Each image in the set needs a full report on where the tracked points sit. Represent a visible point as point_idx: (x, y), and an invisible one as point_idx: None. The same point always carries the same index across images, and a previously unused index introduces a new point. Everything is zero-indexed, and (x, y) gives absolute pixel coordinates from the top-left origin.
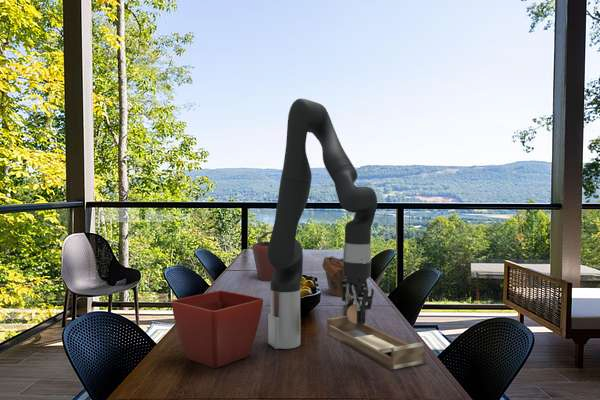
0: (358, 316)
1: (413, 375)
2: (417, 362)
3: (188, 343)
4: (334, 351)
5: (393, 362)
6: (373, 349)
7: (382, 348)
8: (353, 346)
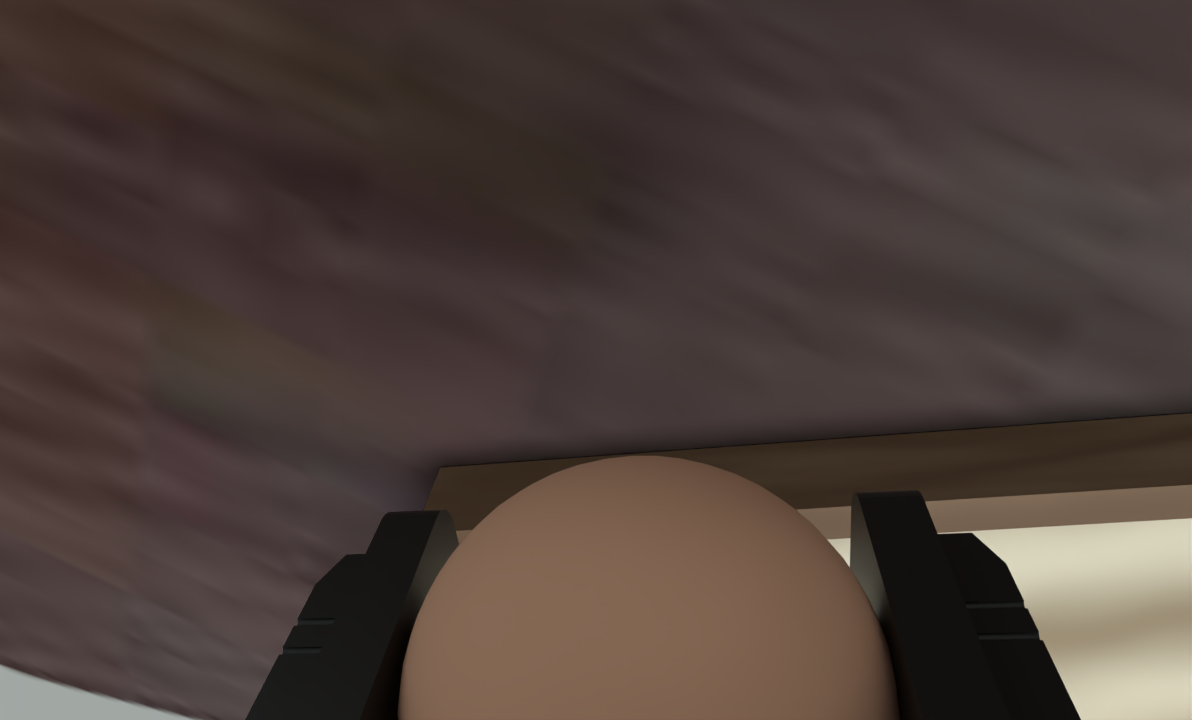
0: (335, 641)
1: (293, 562)
2: None
3: None
4: (1174, 184)
5: None
6: None
7: None
8: (1128, 432)
